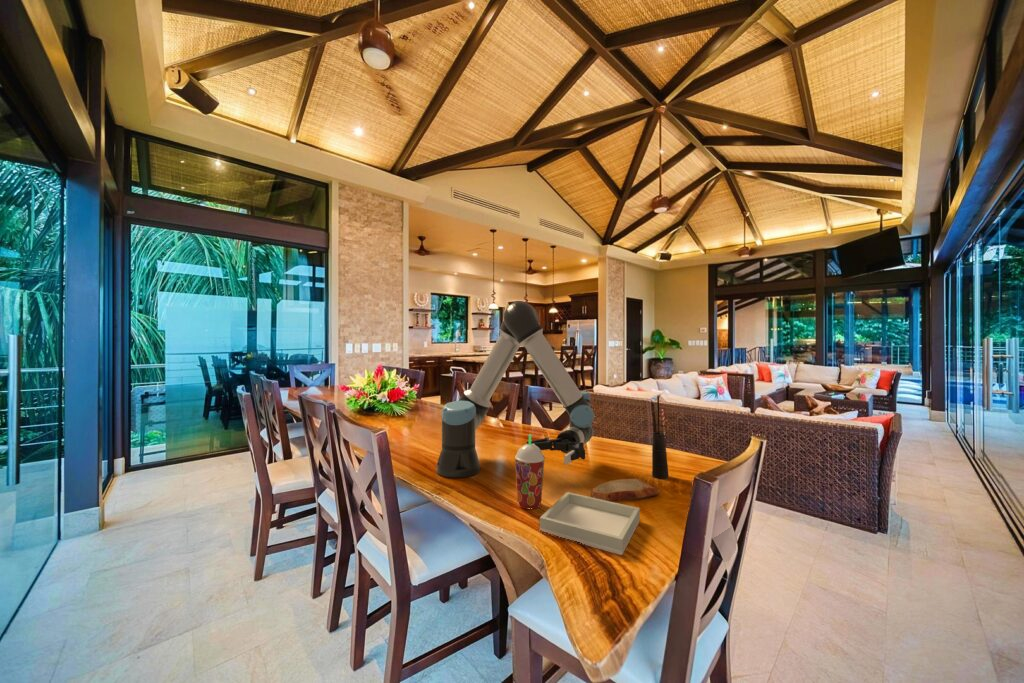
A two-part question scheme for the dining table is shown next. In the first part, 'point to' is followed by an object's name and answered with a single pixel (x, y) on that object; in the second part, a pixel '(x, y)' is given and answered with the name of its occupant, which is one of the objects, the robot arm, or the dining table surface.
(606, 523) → the tray
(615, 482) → the slice of bread
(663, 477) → the black vase with stems
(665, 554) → the dining table surface
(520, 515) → the dining table surface
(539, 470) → the smoothie
